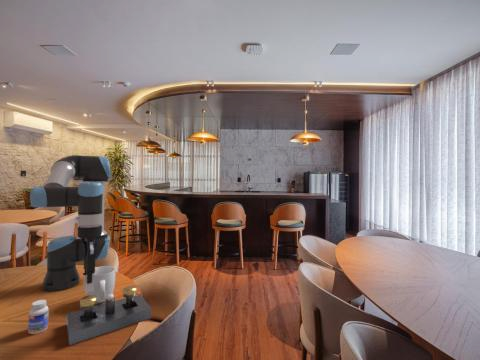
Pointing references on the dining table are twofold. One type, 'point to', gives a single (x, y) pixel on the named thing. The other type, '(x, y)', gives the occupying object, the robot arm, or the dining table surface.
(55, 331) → the dining table surface
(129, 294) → the far knob
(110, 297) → the pot post
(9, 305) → the dining table surface
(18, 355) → the dining table surface
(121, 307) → the mount plate
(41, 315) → the pill bottle
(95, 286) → the mug
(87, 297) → the near knob
